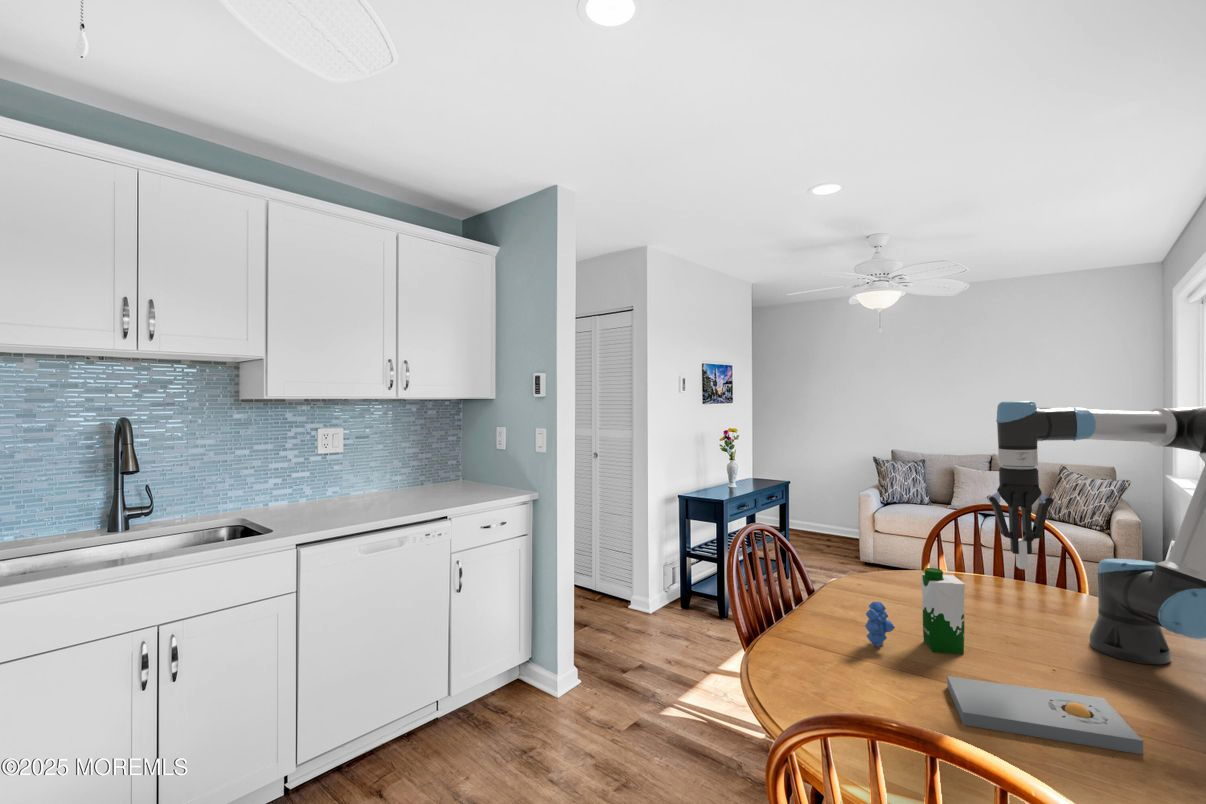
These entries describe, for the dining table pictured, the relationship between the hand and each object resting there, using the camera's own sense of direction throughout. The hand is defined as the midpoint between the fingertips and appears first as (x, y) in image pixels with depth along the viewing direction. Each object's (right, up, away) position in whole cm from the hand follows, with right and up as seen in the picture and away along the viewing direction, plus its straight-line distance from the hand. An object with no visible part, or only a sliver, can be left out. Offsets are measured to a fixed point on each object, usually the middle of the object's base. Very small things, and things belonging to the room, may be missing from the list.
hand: (1021, 567), depth 136 cm
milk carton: (-10, -25, +14) cm, 30 cm away
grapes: (-26, -25, +15) cm, 39 cm away
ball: (-5, -23, -21) cm, 32 cm away
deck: (-11, -25, -19) cm, 33 cm away
